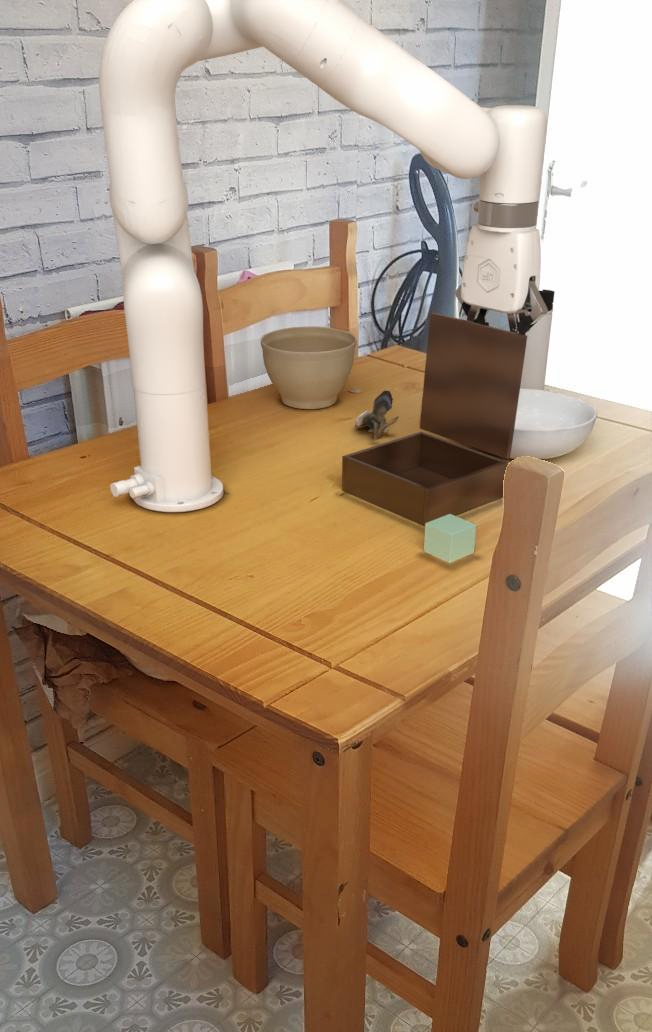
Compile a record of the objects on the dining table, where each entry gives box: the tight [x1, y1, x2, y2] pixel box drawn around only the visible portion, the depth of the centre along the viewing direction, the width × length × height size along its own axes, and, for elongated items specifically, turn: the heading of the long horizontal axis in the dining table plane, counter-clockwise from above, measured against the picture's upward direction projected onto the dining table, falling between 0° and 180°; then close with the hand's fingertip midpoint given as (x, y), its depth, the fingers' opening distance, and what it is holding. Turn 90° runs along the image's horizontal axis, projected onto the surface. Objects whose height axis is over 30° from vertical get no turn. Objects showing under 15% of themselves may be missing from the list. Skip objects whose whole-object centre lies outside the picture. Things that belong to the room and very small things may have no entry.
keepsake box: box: [341, 431, 509, 527], centre depth 142 cm, size 15×16×6 cm
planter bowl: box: [260, 325, 357, 410], centre depth 177 cm, size 16×16×11 cm
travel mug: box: [517, 289, 555, 391], centre depth 171 cm, size 6×7×20 cm
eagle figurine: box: [354, 389, 400, 442], centre depth 164 cm, size 8×7×9 cm
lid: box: [419, 312, 527, 460], centre depth 142 cm, size 16×16×5 cm
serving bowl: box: [509, 389, 598, 460], centre depth 158 cm, size 21×21×7 cm
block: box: [423, 514, 477, 564], centre depth 127 cm, size 4×4×4 cm
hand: (495, 357), depth 142 cm, fingers closed on lid, 5 cm apart
